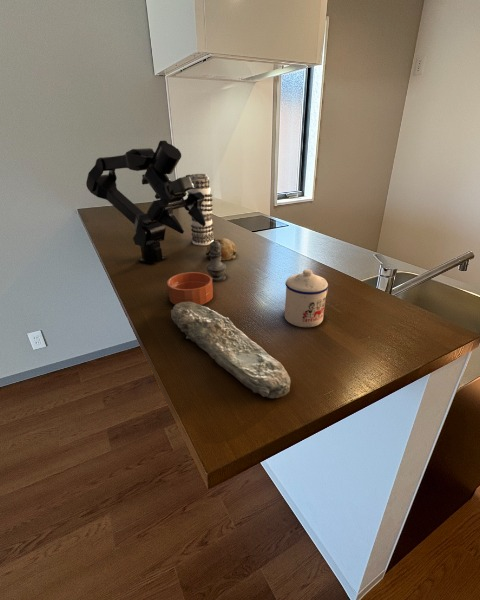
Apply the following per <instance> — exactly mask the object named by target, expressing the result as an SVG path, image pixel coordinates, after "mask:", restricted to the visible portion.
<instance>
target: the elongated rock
mask: <svg viewBox="0 0 480 600" xmlns="http://www.w3.org/2000/svg"><path fill="white" fill-rule="evenodd" d="M170 316H171V317H170V319H171V320H172V321H173V323H174V324H175V325H176V326H177V328H178V329H180V331H181V333H184V334H185V336H186V337H185V339H186V340H191V342H193V343H195V344H196V345H197V346H198V347H199V348H200V349H201V350H203V351H204V352H206V353H207V354H208V355H209V356H210V357H211V359H213V360H214V361H215V363H217V364H218V366H220V368H221V367H222V368H223V369H224V370H225V371H226V372H228V373H230V375H232V376H233V377H234V378H236V380H238V381H239V382H240V383H241V384H242V385H243V386H244V387H246V388H248V389H250V390H251V391H252V393H253V394H259V395H261V396H262V398H265V397H266V398H268V399H278V398H283V397H284V396H286V395H287V394H289V392H290V390H291V389H290V388H291V377H290V375H289V373H288V372H287V370H286V369H285V366H283V364H282V363H281V362H280V361H278V360H277V359H276V358H274V357H272V356H271V355H270V354H269V353H268V352H267V351H266V350H265V349H264V348H263V347H262V346H260V345H259V344H258V343H257V342H255V341H253V340H252V339H251V338H250V337H248V335H246V334H245V333H244V332H243V331H242V330H240V329H239V328H238V327H236V325H234V323H233V321H232V320H230V318H229V317H226V316H223V315H222V314H220V313H219V312H218V311H216V310H215V311H214V310H213V309H210V308H209V307H207V306H204V305H200V304H196V303H193V302H181V303H178V304H176V305H175V304H174V306H173V307H172V309H171V310H170Z"/></svg>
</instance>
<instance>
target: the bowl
mask: <svg viewBox="0 0 480 600" xmlns="http://www.w3.org/2000/svg"><path fill="white" fill-rule="evenodd" d="M166 287H167V295H168V300H169V302H170V303H171V304H173V305H174V306H175V305H176V304H178V303H181V302H193V303H196V304H200V305H201V306H204V305H205V304H207V303H208V302H210V301H211V300H212V299H213V298H214V285H213V281H212V278H211V276H210V274H207V273H204V272H198V271H188V272H182V273H177V274H175V275H173V276H171V277H169V278H168V279H167V281H166Z"/></svg>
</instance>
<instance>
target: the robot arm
mask: <svg viewBox="0 0 480 600" xmlns="http://www.w3.org/2000/svg"><path fill="white" fill-rule="evenodd" d="M181 159H182V153H181V151H180V149H179V148H177V147H176V146H174V145H173V144H172V143H171V144H170V143H168V141H167V140H159V142H158V144H157V148H156V149H155V151H154V149H153V148H151V147H149V148H147V147H146V148H132V149H130V150H128V151H125V153H124V154H121V155H114V156H104V157H103V156H102V157H98V158H96V160H95V164H94V165H93V167H92V168H91V169H90V171H89V172H88V173H87V178H86V182H85V185H86V188H87V190H88V192H89V193H90V194H92V195H93V196H94V197H96V198H98V199H101V200H102V199H103V200H106V201H107V202H108V203H109V204H111V206H113V207H114V208H115V209H116V210H118V211H119V212H120V213H121V214H122V216H124V217H125V218H126V219H128V220H129V221H130V222H131V223H132V224H133V225H134V231H135V234H134V235H133V238H132V240H133V242H134V245H135V246H140V252H141V258H139V259H138V262H141V263H145V264H149V265H154V264H156V263H159V262H161V261H165V260H166V258H167V257H166V256H163V251H162V247H161V242H162V241H163V242H164V241H165V237H166V236H165V235H166V227H168V228H170V229H172V230H173V231H175V232H178V233H179V234H184V233H185V230H184V228H183V226H182V225H181V223H180V221H179V220H178V219H177V217H176V216H175V214H174V211H175V210H178V209H182V208H184V209H185V211H187V214H188V215H189V216H190V217H191V216H192V217H193V218H194V219H195V220H196V221H197V222H198V223H199V224H201V225H202V226H205V225H206V223H205V220H204V217H203V213H202V209H201V204H202V202H203V200H204V198H205V197H204V196H203V194H202V193H201V192H194V193H190V194H189V196H187V195H188V192H187V191H189V190H190V189H193V188H194V185H195V179H194V178H193V177H192V176H191V175H192V174H186V175H185V176H182V177H178V178H176V179H175V180H171V178H170V177H169V175H171V174H172V173H173V172H174V171H175V169H176V167H177V165H178V164H179V162H180V160H181ZM120 169H128V170H130V171H134V172H135V171H136V172H139V171H145V173H144V174H142V175H141V184H142V185H149V186H150V188H151V189H152V190H153V192H154V193H155V195H154V198H155V199H156V200H153V201H152V203H151V204H150V206H149V208H148V210H147V212H146V213H144V211H142V210H141V208H139V207H138V206H137V205H136V204H134V203H133V202H132V201H131V199H129V198H128V197H126V195H124V194H123V193H122V192H121V191H120V190H119V189H118V186H117V178H118V177H117V175H116V170H120ZM104 172H108V173H107V174H103V173H104ZM186 196H187V197H186ZM185 197H186V198H185ZM184 198H185V199H184ZM173 210H174V211H173ZM192 217H191V218H192Z"/></svg>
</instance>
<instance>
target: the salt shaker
mask: <svg viewBox="0 0 480 600" xmlns="http://www.w3.org/2000/svg"><path fill="white" fill-rule="evenodd" d="M213 240H214V241H213V242H211V243H210V244H209V245H210V252H211V253H210V254H209V255H210V257H211V259H210V263H209V264H206V266H205V268H206V271H207V273H208V275H209V276H211V278H212V282H222V281H224V280H226V278H227V277H226V275H224V273H225V271H226V269H227V265H226V264H225V263H223V262H222V260H221V255H222V253H220V243H219V242H217V241H216V240H217V239H216V237H214V239H213Z"/></svg>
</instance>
